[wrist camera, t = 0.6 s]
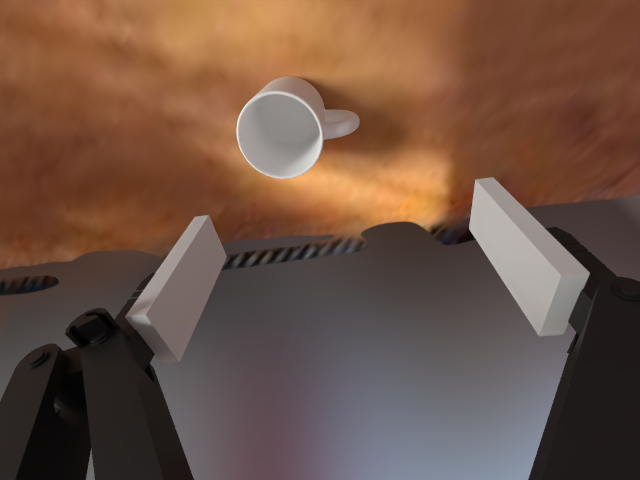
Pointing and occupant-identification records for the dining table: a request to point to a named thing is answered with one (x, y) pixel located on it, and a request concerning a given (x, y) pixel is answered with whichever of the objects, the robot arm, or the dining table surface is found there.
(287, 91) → the mug
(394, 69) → the dining table surface
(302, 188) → the dining table surface
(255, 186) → the dining table surface
